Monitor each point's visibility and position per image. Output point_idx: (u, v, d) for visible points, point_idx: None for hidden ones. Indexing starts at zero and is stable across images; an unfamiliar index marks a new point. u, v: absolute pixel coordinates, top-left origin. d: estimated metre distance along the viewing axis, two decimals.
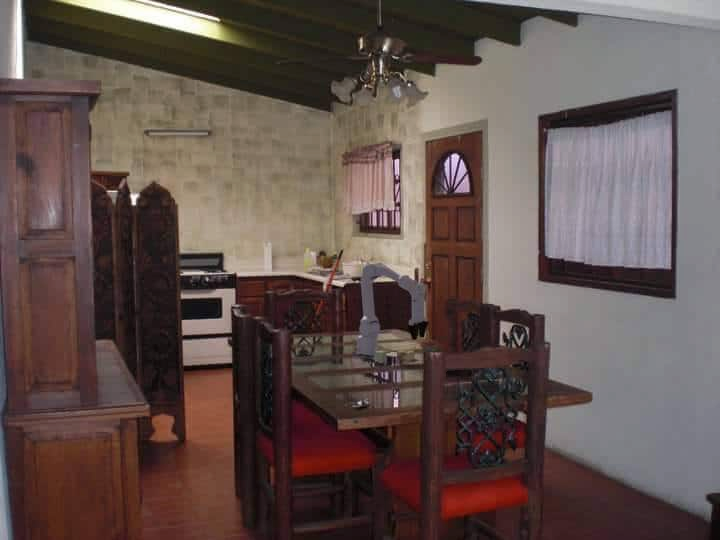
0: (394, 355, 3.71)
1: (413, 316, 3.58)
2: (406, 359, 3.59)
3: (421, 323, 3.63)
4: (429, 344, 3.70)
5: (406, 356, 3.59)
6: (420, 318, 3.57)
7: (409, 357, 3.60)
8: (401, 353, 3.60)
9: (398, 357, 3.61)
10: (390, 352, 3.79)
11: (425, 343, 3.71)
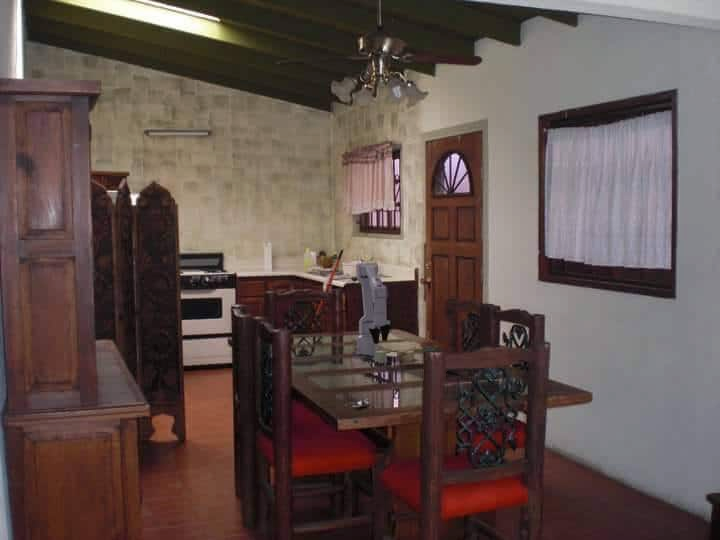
0: (394, 355, 3.71)
1: (375, 320, 3.54)
2: (406, 359, 3.59)
3: (384, 327, 3.59)
4: (429, 344, 3.70)
5: (406, 356, 3.59)
6: (382, 322, 3.53)
7: (410, 357, 3.60)
8: (401, 353, 3.60)
9: (398, 357, 3.61)
10: (390, 352, 3.79)
11: (425, 343, 3.71)
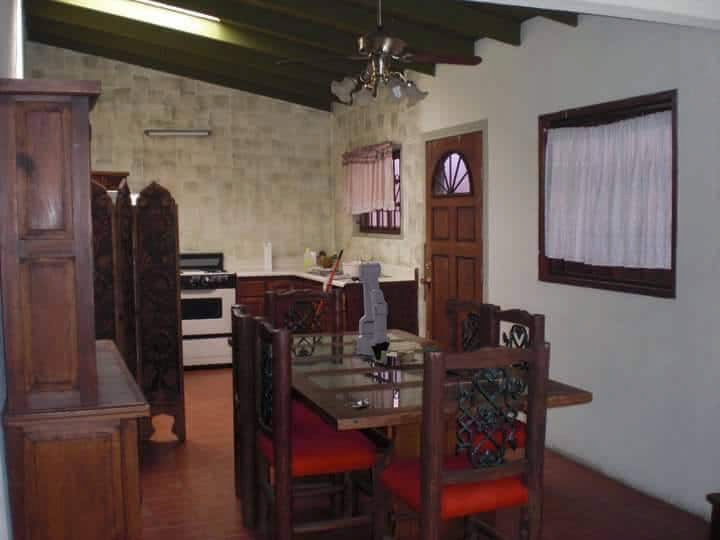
0: (394, 355, 3.71)
1: (375, 336, 3.55)
2: (406, 359, 3.59)
3: (382, 344, 3.59)
4: (429, 344, 3.70)
5: (406, 356, 3.59)
6: (382, 339, 3.54)
7: (410, 357, 3.60)
8: (401, 353, 3.60)
9: (398, 357, 3.61)
10: (390, 352, 3.79)
11: (425, 343, 3.71)
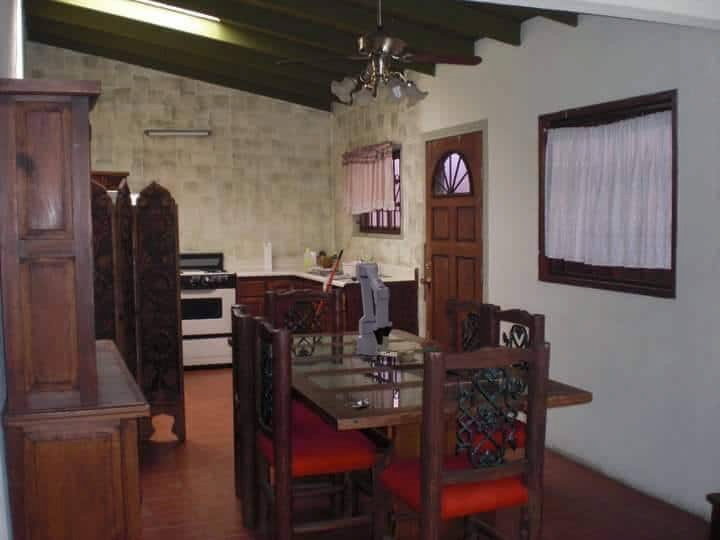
0: (394, 355, 3.71)
1: (377, 321, 3.54)
2: (406, 359, 3.59)
3: (384, 329, 3.58)
4: (429, 344, 3.70)
5: (406, 356, 3.59)
6: (384, 323, 3.54)
7: (410, 357, 3.60)
8: (401, 353, 3.60)
9: (398, 357, 3.61)
10: (390, 352, 3.79)
11: (425, 343, 3.71)
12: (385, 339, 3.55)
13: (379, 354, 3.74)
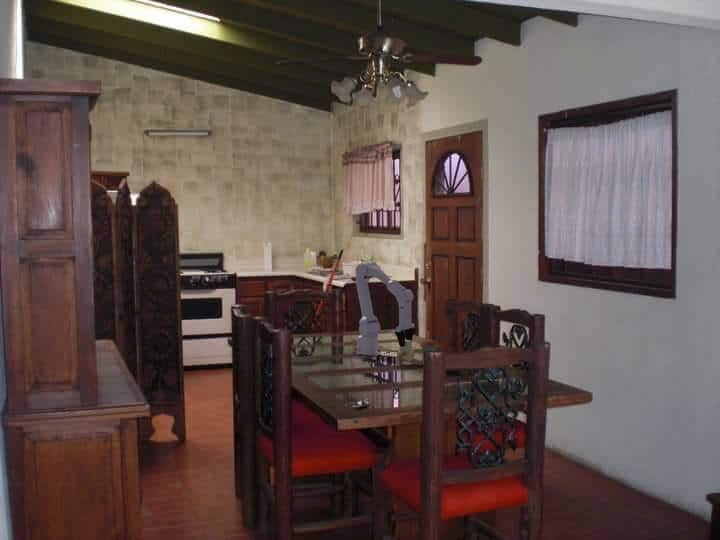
0: (394, 355, 3.71)
1: (400, 323, 3.60)
2: (407, 359, 3.59)
3: (408, 330, 3.65)
4: (429, 344, 3.70)
5: (407, 356, 3.59)
6: (407, 325, 3.59)
7: (410, 357, 3.60)
8: (401, 353, 3.60)
9: (398, 357, 3.61)
10: (390, 352, 3.79)
11: (425, 343, 3.71)
12: (408, 343, 3.60)
13: (379, 354, 3.74)
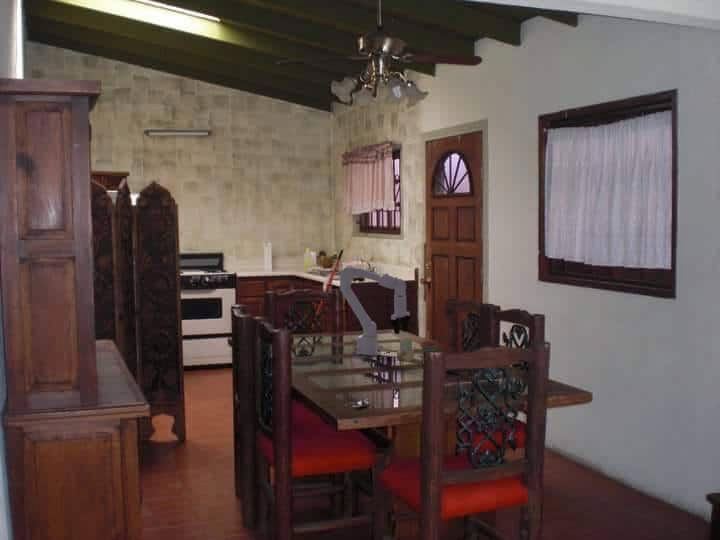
0: (394, 355, 3.71)
1: (395, 311, 3.72)
2: (407, 359, 3.59)
3: (404, 318, 3.78)
4: (429, 344, 3.70)
5: (407, 356, 3.59)
6: (402, 313, 3.71)
7: (410, 357, 3.60)
8: (401, 353, 3.60)
9: (398, 357, 3.61)
10: (390, 352, 3.79)
11: (425, 343, 3.71)
12: (408, 343, 3.60)
13: (379, 354, 3.74)
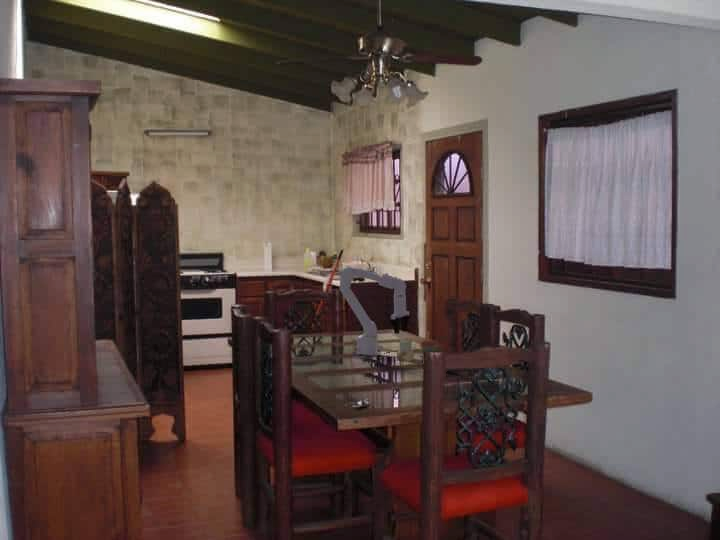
0: (394, 355, 3.71)
1: (395, 311, 3.73)
2: (406, 359, 3.59)
3: (403, 317, 3.79)
4: (429, 344, 3.70)
5: (406, 356, 3.59)
6: (402, 312, 3.73)
7: (410, 357, 3.60)
8: (401, 353, 3.60)
9: (398, 357, 3.61)
10: (390, 352, 3.79)
11: (425, 343, 3.71)
12: (408, 343, 3.60)
13: (379, 354, 3.74)
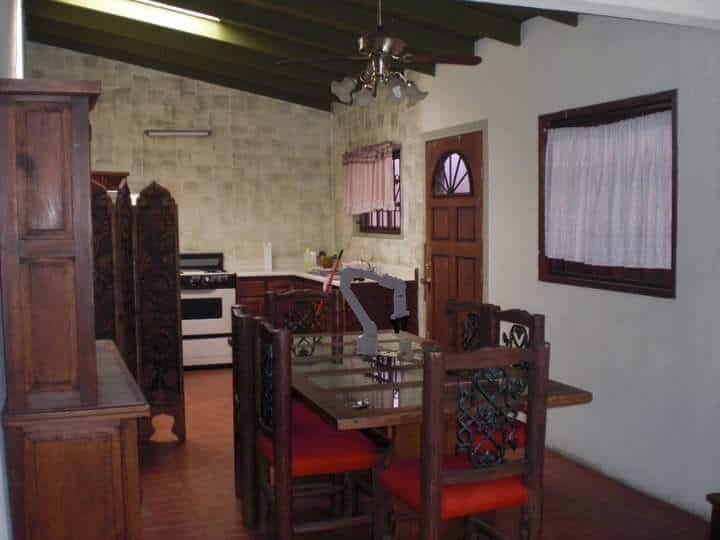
0: (394, 355, 3.71)
1: (395, 311, 3.73)
2: (406, 359, 3.59)
3: (403, 317, 3.79)
4: (429, 344, 3.70)
5: (406, 356, 3.59)
6: (402, 312, 3.73)
7: (410, 357, 3.60)
8: (401, 353, 3.60)
9: (398, 357, 3.61)
10: (390, 352, 3.79)
11: (425, 343, 3.71)
12: (408, 343, 3.60)
13: (379, 354, 3.74)
